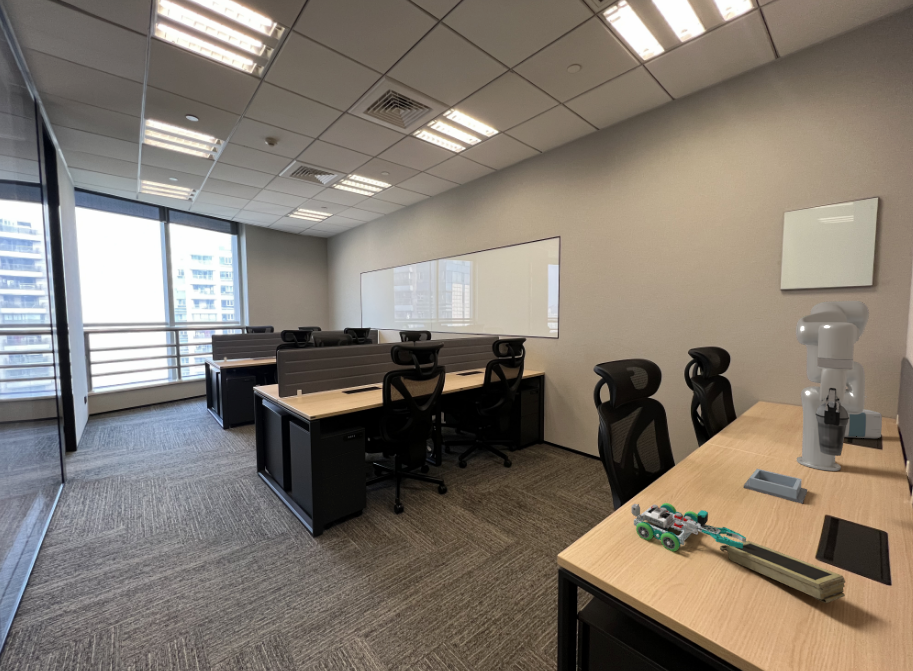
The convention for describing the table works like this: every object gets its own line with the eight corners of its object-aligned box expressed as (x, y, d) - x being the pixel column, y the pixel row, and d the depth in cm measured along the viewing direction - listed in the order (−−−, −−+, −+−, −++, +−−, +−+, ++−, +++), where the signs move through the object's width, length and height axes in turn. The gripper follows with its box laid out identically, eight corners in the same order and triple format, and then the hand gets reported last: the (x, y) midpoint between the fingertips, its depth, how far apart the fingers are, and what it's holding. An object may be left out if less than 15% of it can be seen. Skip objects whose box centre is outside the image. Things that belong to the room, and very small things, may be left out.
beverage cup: (838, 450, 115) (840, 386, 114) (854, 458, 108) (856, 391, 107) (808, 447, 117) (810, 385, 116) (822, 456, 110) (825, 390, 109)
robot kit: (734, 581, 83) (735, 540, 82) (624, 532, 102) (624, 499, 101) (754, 548, 95) (755, 512, 94) (652, 510, 114) (653, 480, 113)
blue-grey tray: (751, 478, 136) (751, 467, 136) (807, 492, 124) (807, 480, 124) (743, 487, 128) (744, 476, 128) (802, 503, 117) (803, 491, 116)
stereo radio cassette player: (832, 438, 181) (834, 397, 180) (819, 433, 189) (820, 394, 189) (882, 440, 178) (884, 399, 177) (866, 434, 186) (868, 395, 185)
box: (826, 612, 72) (822, 584, 72) (713, 561, 93) (710, 540, 93) (851, 602, 74) (846, 575, 75) (735, 555, 95) (733, 534, 96)
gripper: (820, 360, 119) (818, 414, 120) (814, 365, 108) (812, 425, 109) (854, 362, 114) (852, 419, 115) (851, 368, 102) (849, 430, 103)
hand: (832, 421), depth 112 cm, fingers closed on beverage cup, 7 cm apart
